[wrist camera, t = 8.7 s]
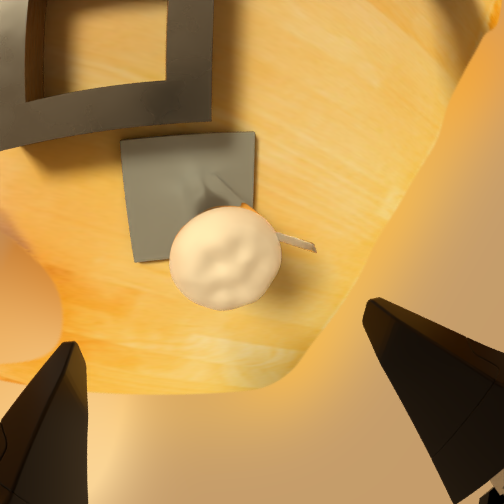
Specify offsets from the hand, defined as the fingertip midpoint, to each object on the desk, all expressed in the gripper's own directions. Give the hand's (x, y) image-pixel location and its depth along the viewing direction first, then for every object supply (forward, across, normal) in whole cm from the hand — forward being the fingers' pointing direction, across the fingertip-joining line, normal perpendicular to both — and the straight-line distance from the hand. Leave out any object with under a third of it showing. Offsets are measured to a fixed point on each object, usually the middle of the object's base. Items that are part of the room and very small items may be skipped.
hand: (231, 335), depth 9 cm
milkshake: (+13, -1, 0) cm, 13 cm away
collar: (+13, +5, -11) cm, 18 cm away
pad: (+13, 0, 0) cm, 13 cm away
